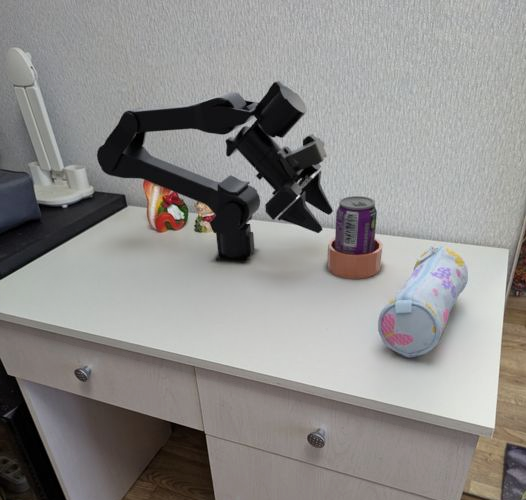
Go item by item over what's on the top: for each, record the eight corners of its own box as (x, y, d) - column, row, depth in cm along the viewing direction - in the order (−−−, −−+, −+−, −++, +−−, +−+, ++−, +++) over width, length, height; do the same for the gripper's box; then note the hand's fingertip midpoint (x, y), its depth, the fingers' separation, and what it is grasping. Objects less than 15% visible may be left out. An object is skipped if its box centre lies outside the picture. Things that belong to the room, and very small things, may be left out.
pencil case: (411, 289, 85) (419, 237, 80) (464, 300, 81) (476, 246, 76) (371, 353, 70) (377, 295, 65) (433, 369, 67) (445, 309, 61)
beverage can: (379, 268, 91) (386, 204, 84) (346, 276, 89) (349, 211, 82) (359, 253, 97) (363, 192, 90) (327, 261, 95) (329, 199, 88)
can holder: (323, 276, 91) (324, 253, 88) (332, 254, 98) (333, 232, 96) (377, 281, 88) (380, 257, 86) (382, 258, 96) (384, 236, 93)
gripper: (282, 134, 74) (350, 211, 78) (310, 111, 89) (367, 176, 92) (237, 184, 81) (301, 252, 85) (270, 155, 95) (324, 214, 99)
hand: (326, 221), depth 90 cm, fingers open, 9 cm apart
